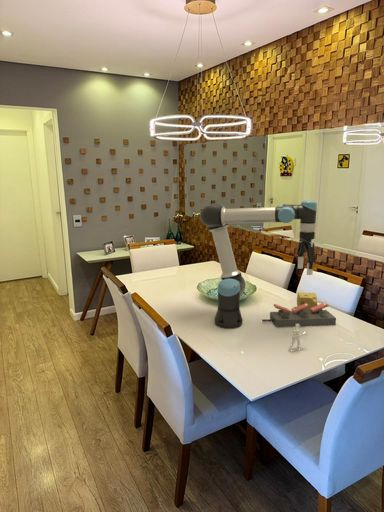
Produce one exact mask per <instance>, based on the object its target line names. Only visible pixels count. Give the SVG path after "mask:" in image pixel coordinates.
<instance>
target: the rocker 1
mask: <svg viewBox="0 0 384 512" xmlns="http://www.w3.org/2000/svg"><path fill="white" fill-rule="evenodd" d="M273 306H274V308H275V309H277V310H281V311H282V312H284V311H285V312H288V313H291V311H292V310H291V309H289V308H287V307H285V306H281V305H279V304H276V303H273Z"/></svg>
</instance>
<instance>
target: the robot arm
mask: <svg viewBox="0 0 384 512" xmlns="http://www.w3.org/2000/svg"><path fill="white" fill-rule="evenodd" d="M199 219H200V221H201V223H202V224H203V225H204V226H207V230H208V231H209V232H211V233H212V234H211V235H212V238H213V242H214V245H215V249H216V254H217V257H218V261H219V265H220V268H221V272H222V273H221V275H220V279H221V280H220V281H219V282H218V283H217V311H216V313H215V315H214V316H215V317H214V325H215V326H217V327H218V328H222V329H229V330H230V329H237V328H240V327H242V325H244V323H243V317H242V313H241V310H240V306H241V302H240V301H241V300H240V299H241V296H242V294H243V293H244V292H245V289H246V280H245V278H244V277H243V276H242V272H241V270H239V269H238V266H237V263H236V260H235V255H234V251H233V248H232V244H231V239H230V236H229V232H228V227H229V225H231V224H232V225H233V224H262V223H263V224H265V223H283V224H289V223H291V222H293V220H300V221H299V235H298V236H299V240H298V242H299V243H298V245H297V251H296V255H297V269H298V270H299V269H301V270H302V269H303V268H304V257H305V252H306V257H307V261H306V263H307V265H306V276H312V275H313V272H314V263H316V252H315V251H316V250H315V242H312V240H314V239H315V237H316V236H315V234H316V232H315V231H316V226H317V223H316V220H317V201H315V200H302V201H301V203H300V204H285V203H283V204H278V205H277V206H273V207H272V206H269V207H243V208H241V207H239V208H238V207H237V208H226V207H225V205H223V204H221V203H218V202H217V203H211V204H208V205H206V206H204V207H203V208H202V209H201V210H200V214H199Z"/></svg>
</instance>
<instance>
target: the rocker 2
mask: <svg viewBox="0 0 384 512" xmlns="http://www.w3.org/2000/svg"><path fill="white" fill-rule="evenodd" d="M308 307H310V306H309V305H308V304H307V303H305V304H302V305H300V306H297V305H296V306H294V307H292V308H291V311H293V312H294V313H296V312H299V311H303V309H306V308H308Z"/></svg>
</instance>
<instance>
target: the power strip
mask: <svg viewBox="0 0 384 512" xmlns="http://www.w3.org/2000/svg"><path fill="white" fill-rule="evenodd" d="M277 310H278V311H270V312H269V318H268V319H267V318H266V319H261V322H262V323H267V322H270V323H271V322H272V324H273V325H274V326H275V328H296V326H295V325H296V324H299V325H300V326H299V328H302V327H323V326H324V327H325V326H336V324H337V323H336V321H337V318H336V317H335V316H334V315H333V314H332V313H331V312H330V311H329V310H327V309H322V311H320V310H318V311H316V312H312V311H311V310H307V311H299V312H296V313H294V312H293V311H292V310H290V311H291V313H288V312H285V311H284V312H282V311H281V310H280V309H277Z"/></svg>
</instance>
